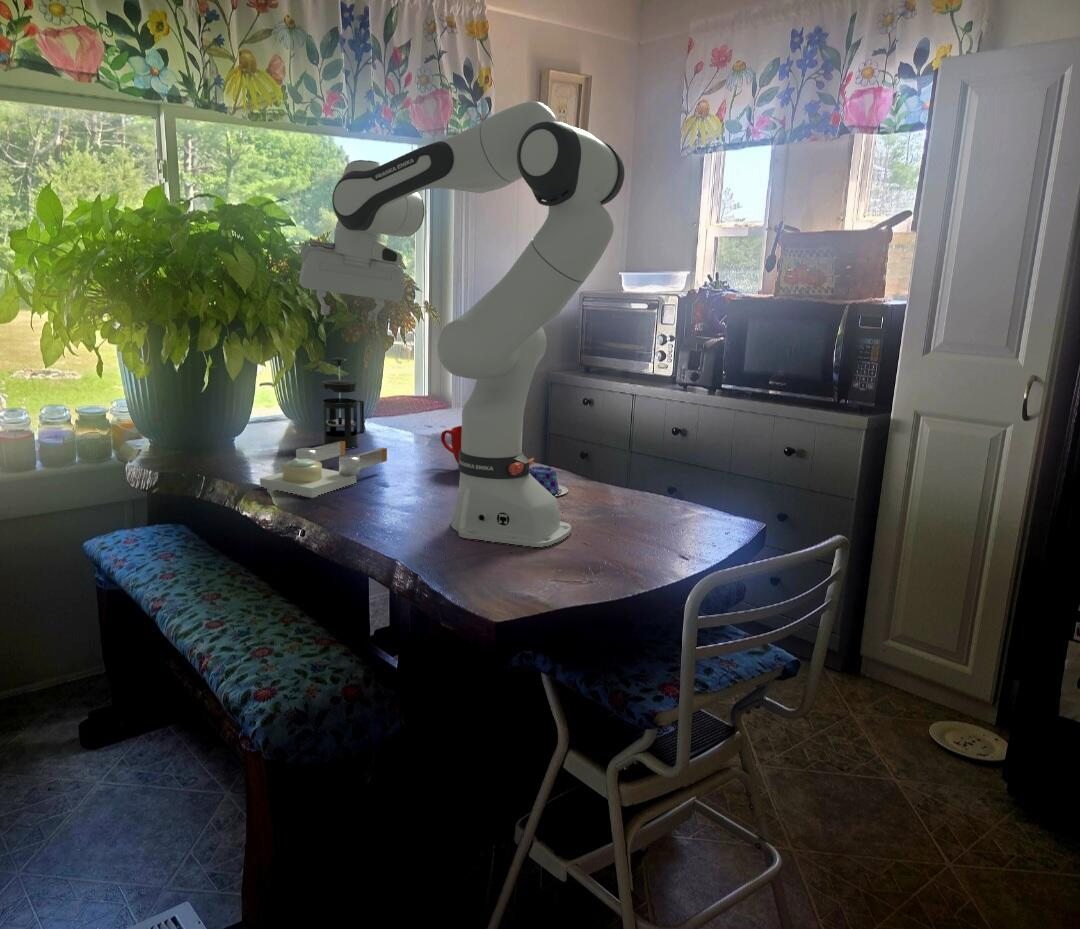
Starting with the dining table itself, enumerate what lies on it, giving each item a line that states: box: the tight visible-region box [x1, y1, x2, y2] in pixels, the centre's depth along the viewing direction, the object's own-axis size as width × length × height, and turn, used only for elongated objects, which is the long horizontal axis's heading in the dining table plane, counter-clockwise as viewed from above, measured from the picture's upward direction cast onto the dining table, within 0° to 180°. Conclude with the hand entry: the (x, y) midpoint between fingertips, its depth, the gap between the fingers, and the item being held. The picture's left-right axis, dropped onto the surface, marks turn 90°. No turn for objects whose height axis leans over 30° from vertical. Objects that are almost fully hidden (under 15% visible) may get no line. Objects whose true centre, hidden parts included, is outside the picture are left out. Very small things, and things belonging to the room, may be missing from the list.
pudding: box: [529, 465, 569, 497], centre depth 176 cm, size 12×12×5 cm
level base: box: [259, 457, 357, 499], centre depth 172 cm, size 14×14×6 cm
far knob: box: [295, 441, 346, 462], centre depth 184 cm, size 15×4×4 cm, turn 154°
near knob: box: [338, 447, 388, 476], centre depth 179 cm, size 15×4×4 cm, turn 154°
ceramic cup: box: [440, 425, 462, 464], centre depth 191 cm, size 13×17×10 cm
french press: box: [321, 357, 365, 448], centre depth 210 cm, size 12×9×23 cm
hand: (348, 317), depth 162 cm, fingers open, 8 cm apart
